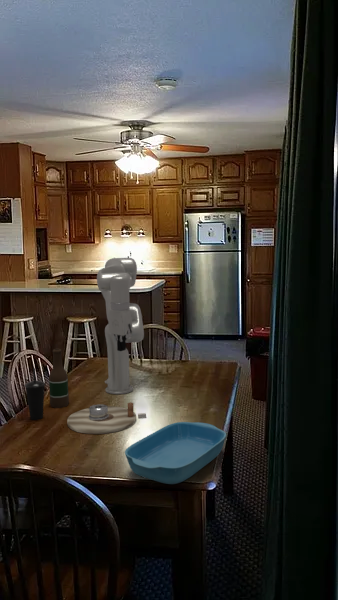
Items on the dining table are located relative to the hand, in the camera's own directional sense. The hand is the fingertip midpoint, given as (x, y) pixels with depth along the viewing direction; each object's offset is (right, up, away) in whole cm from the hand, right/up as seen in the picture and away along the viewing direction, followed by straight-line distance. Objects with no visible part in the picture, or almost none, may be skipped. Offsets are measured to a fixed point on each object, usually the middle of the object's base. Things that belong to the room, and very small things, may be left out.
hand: (121, 350), depth 213 cm
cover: (-7, -24, -14) cm, 29 cm away
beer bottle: (-27, -24, +7) cm, 37 cm away
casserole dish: (+22, -30, -51) cm, 64 cm away
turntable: (-6, -26, -14) cm, 30 cm away
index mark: (+9, -25, -11) cm, 29 cm away
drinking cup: (-33, -26, -8) cm, 42 cm away
